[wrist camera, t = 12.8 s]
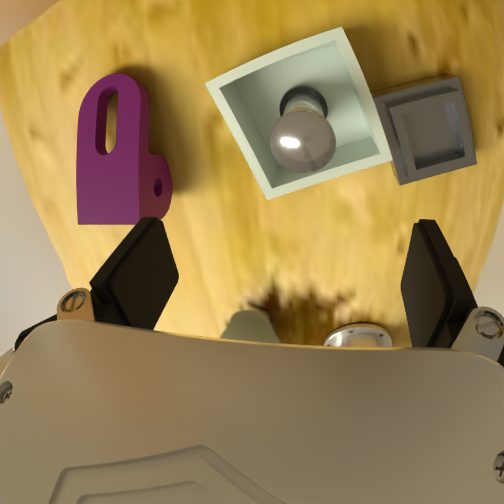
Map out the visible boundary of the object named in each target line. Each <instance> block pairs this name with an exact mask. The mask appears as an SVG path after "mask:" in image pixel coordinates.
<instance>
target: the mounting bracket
mask: <svg viewBox="0 0 504 504" xmlns="http://www.w3.org/2000/svg"><path fill="white" fill-rule="evenodd" d="M116 91H118V93H119V98H118V112H117V130H116V144H115V147H114V149H113V150H112V151H111V152H110V153H109V154H108V153H107V151H106V147H105V142H106V121H107V106H108V100H109V98H110V96H111V95H112V94H113V93H114V92H116ZM149 111H150V101H149V96H148V93H147V91H146V89H145V87H144V86H143V85H142V84H141V83H140V82H139V81H137V80H135V79H133V78H131V77H129V76H127V75H125V74H119V73H117V74H111V75H108V76H105V77H103V78H102V79H100V80H99V81H97V82H96V83H95V84H94V85H93V86H92V87H91V88H90V90H89V91H88V92H87V94H86V96H85V97H84V99H83V102H82V104H81V107H80V111H79V117H78V132H77V160H76V187H77V215H78V225H136V224H137V223H138V222H139V221H140V219H141V218H142V217H158V218H159V220H160V219H162V218H163V217H164V216H165V215H166V213H167V211H168V209H169V206H170V203H171V198H172V181H171V176H170V171H169V166H168V164H167V162H166V161H165V159H164V158H163V157H161V156H159V155H153V154H150V153H149V150H148V136H149Z"/></svg>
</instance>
